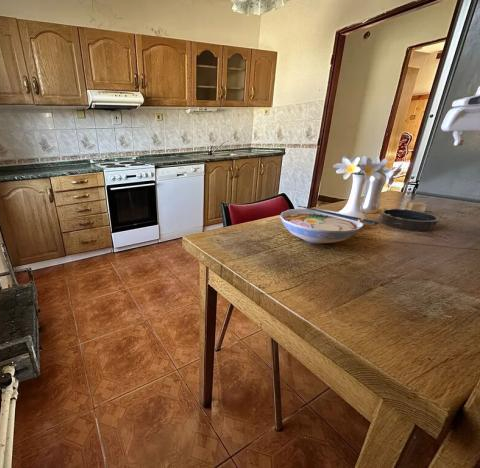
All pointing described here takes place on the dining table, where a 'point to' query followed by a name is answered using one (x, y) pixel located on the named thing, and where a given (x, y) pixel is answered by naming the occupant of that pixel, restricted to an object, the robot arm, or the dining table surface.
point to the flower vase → (362, 179)
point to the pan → (409, 219)
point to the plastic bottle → (372, 194)
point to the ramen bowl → (321, 224)
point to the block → (416, 206)
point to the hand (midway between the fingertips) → (476, 145)
